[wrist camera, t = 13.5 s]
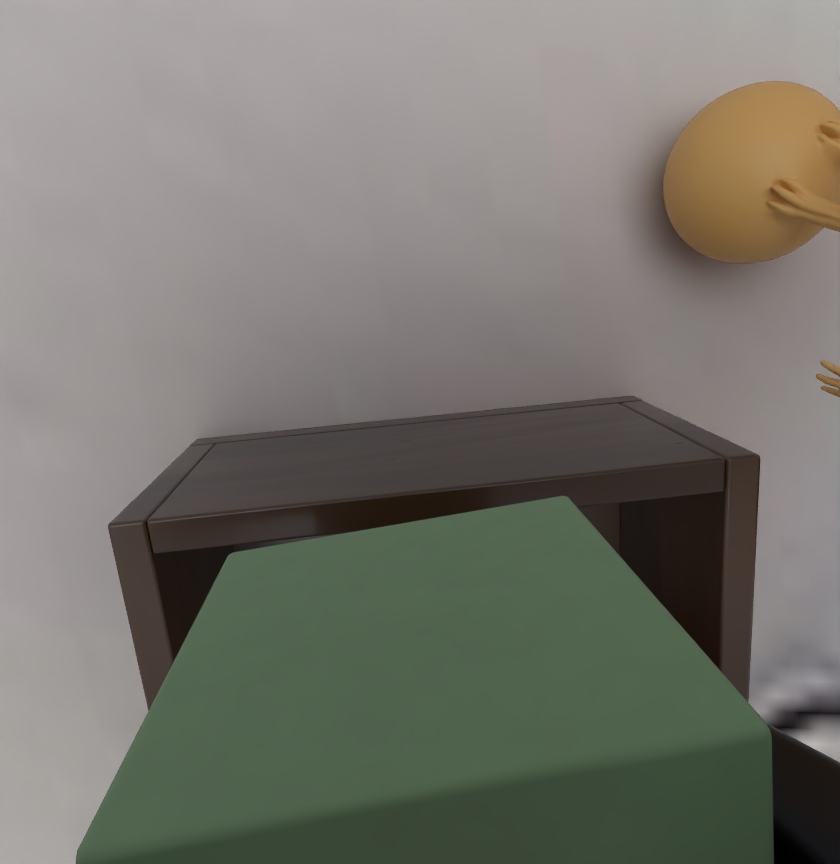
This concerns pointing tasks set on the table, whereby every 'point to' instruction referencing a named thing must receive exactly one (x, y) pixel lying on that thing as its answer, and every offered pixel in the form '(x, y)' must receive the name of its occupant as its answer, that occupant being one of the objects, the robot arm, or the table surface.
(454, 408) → the table surface
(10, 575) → the table surface
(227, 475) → the box
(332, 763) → the block
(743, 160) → the figurine
